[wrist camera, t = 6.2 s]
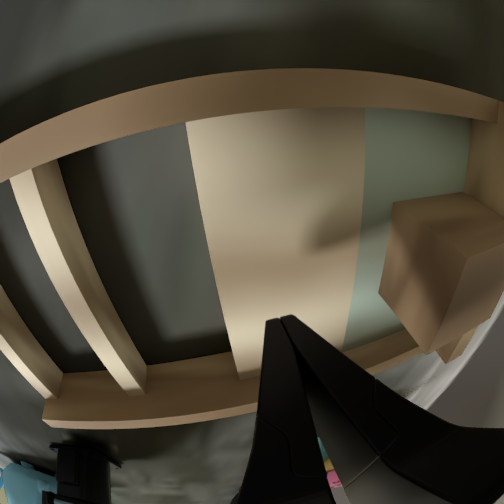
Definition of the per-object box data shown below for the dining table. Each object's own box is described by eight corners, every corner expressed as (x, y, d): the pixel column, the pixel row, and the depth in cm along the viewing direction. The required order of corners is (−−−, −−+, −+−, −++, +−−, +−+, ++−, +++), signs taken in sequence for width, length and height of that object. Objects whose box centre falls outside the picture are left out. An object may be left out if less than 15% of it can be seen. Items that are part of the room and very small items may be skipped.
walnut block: (442, 270, 13) (489, 317, 10) (378, 292, 12) (425, 355, 9) (462, 191, 10) (525, 233, 7) (393, 202, 10) (466, 258, 7)
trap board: (420, 304, 17) (461, 354, 13) (59, 382, 14) (48, 447, 10) (458, 91, 10) (538, 115, 6) (-55, 183, 7) (-120, 236, 2)
